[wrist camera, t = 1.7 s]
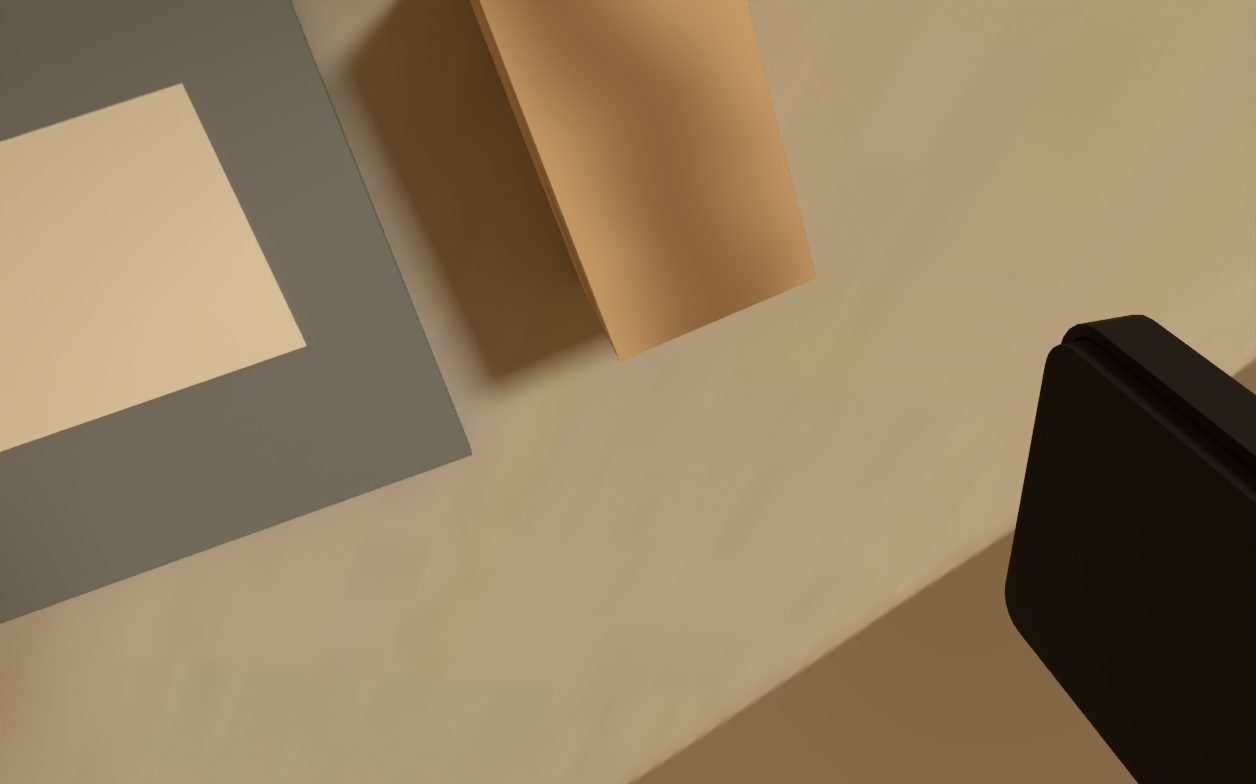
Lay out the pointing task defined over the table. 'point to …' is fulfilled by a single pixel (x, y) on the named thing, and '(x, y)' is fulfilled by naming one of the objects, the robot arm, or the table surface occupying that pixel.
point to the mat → (187, 295)
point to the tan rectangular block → (653, 156)
